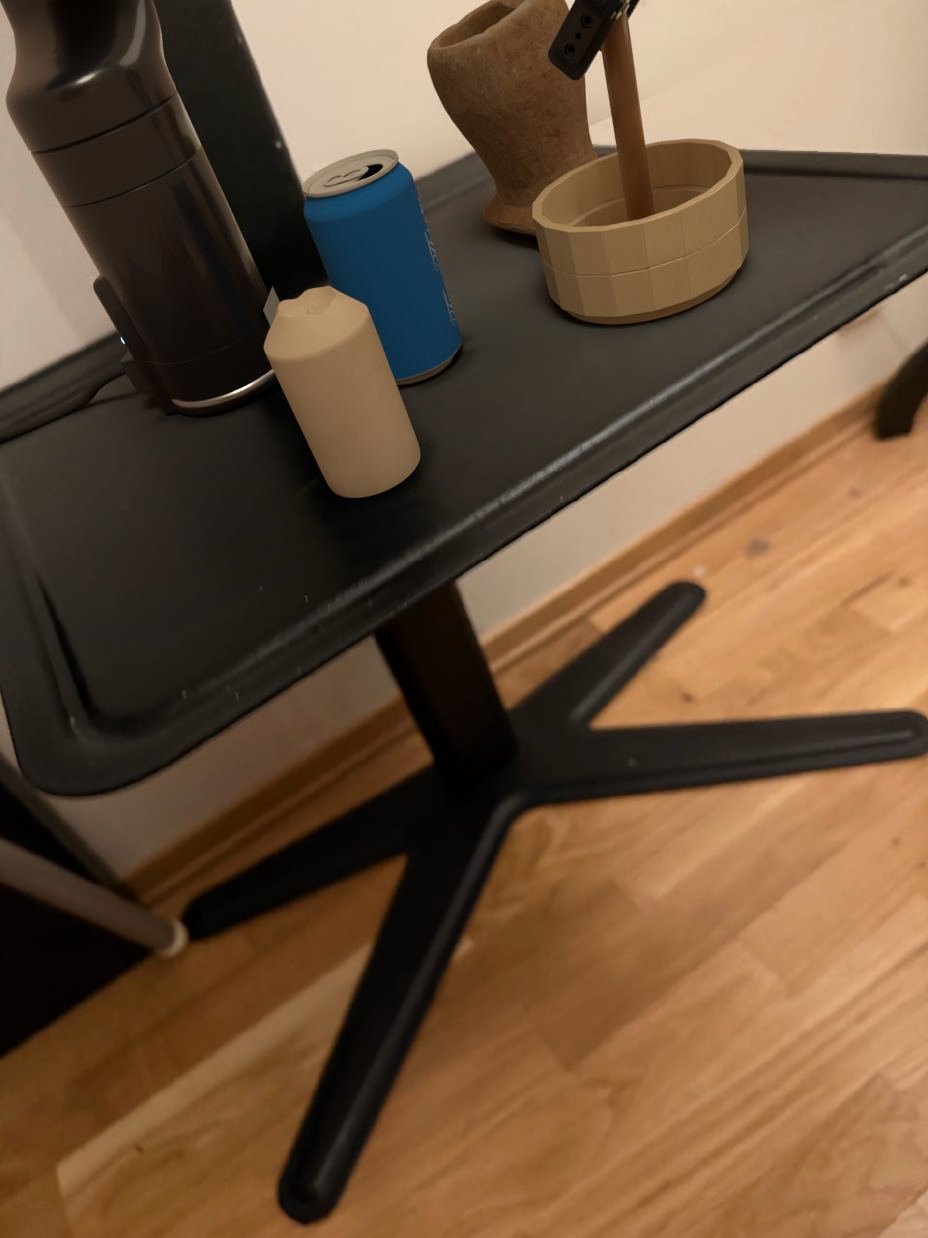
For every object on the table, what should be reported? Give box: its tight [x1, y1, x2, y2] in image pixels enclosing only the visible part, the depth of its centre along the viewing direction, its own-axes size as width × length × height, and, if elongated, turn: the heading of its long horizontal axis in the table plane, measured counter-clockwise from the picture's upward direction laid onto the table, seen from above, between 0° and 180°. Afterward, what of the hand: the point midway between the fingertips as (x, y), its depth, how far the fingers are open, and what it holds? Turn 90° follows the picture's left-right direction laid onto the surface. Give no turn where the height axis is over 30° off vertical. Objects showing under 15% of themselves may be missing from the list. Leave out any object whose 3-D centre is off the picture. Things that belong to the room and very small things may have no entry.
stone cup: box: [426, 0, 600, 237], centre depth 62 cm, size 15×12×15 cm
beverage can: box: [301, 148, 463, 386], centre depth 53 cm, size 6×6×12 cm
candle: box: [264, 285, 421, 499], centre depth 46 cm, size 6×6×10 cm
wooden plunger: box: [600, 10, 664, 224], centre depth 51 cm, size 5×5×17 cm
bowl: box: [532, 137, 750, 325], centre depth 55 cm, size 12×12×6 cm
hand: (578, 52), depth 49 cm, fingers open, 3 cm apart
